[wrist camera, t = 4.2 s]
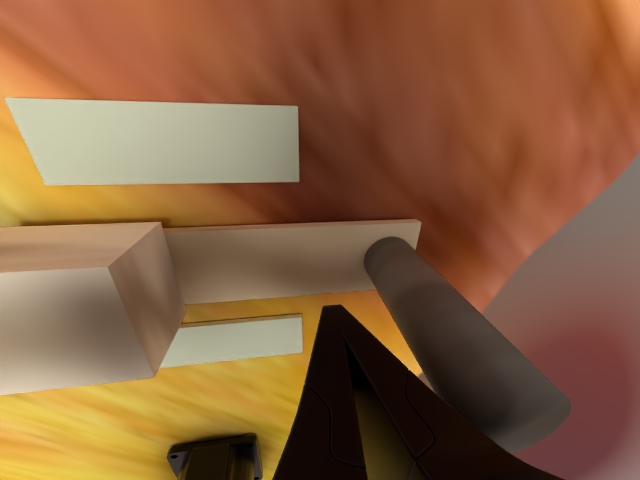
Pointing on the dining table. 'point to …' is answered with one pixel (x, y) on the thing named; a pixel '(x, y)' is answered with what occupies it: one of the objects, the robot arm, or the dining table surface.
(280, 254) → the sled
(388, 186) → the dining table surface
